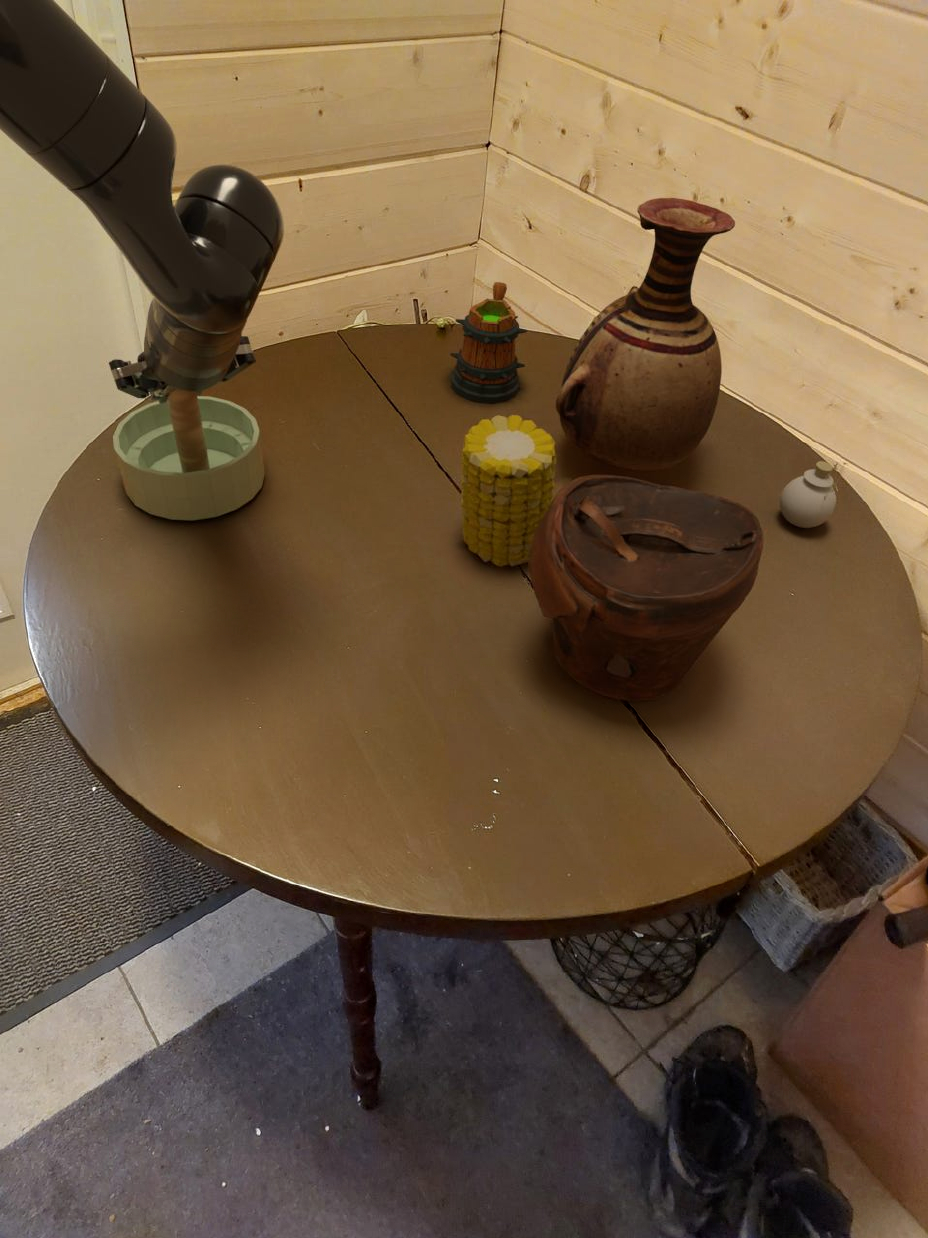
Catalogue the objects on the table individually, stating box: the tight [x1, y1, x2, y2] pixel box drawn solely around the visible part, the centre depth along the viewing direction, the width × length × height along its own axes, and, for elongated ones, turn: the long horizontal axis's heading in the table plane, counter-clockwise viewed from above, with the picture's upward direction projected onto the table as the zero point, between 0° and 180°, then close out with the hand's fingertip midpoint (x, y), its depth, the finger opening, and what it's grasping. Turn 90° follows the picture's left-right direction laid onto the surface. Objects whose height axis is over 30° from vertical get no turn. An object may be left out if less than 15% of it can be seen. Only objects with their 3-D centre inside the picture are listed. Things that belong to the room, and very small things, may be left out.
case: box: [528, 474, 764, 702], centre depth 75 cm, size 18×20×18 cm
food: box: [460, 414, 557, 568], centre depth 86 cm, size 15×12×10 cm
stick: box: [167, 388, 210, 473], centre depth 87 cm, size 3×3×14 cm
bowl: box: [112, 395, 266, 521], centre depth 92 cm, size 15×15×6 cm
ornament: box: [779, 460, 839, 529], centre depth 94 cm, size 6×7×10 cm
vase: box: [555, 197, 736, 471], centre depth 93 cm, size 21×18×30 cm
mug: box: [449, 281, 528, 404], centre depth 111 cm, size 13×10×12 cm
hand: (176, 389), depth 87 cm, fingers closed on stick, 3 cm apart
